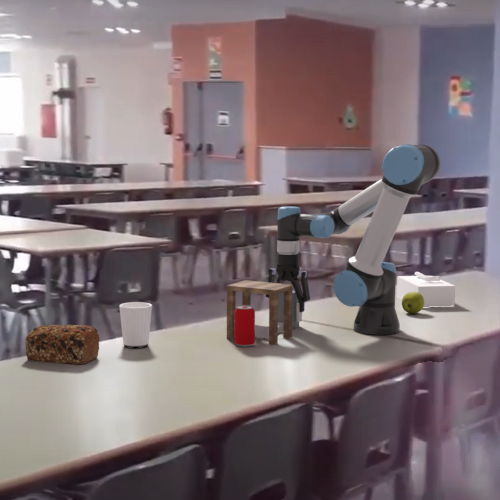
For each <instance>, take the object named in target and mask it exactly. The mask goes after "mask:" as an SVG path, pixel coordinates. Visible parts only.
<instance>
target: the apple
mask: <svg viewBox="0 0 500 500" xmlns="http://www.w3.org/2000/svg"><path fill="white" fill-rule="evenodd" d="M423 306H424V298H423V296H422V295H421V294H420V293H418V292H409V293H407V294H406V295H405V296H404V297H403V299H402V300H401V307H402V309H403V310H404V312H406V313H407V314H411V313H415V314H418V313H419V312H421V311H422V310H423V309H424V308H423Z"/></svg>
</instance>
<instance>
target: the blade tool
mask: <svg viewBox="0 0 500 500" xmlns="http://www.w3.org/2000/svg"><path fill="white" fill-rule="evenodd" d="M298 302H299V300H298V298H297V295H296V292H295V290H293V289H292V330H293V329H296V328H298V327H300V322H296V315H297V303H298ZM283 323H284V292H283V293H280V294H278V334H279V333H282V332H283ZM263 338H265V339H264V340H269V325H262V324H256V323H255V339H263Z"/></svg>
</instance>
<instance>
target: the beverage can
mask: <svg viewBox="0 0 500 500" xmlns="http://www.w3.org/2000/svg"><path fill="white" fill-rule="evenodd" d="M255 324H256V310H255V309H254V306H253V305H251V306H250V305H242V304H240V305H235V329H234V339H233V340H234V345H236V346H237V347H239V348H240V347H242V348H243V347H244V348H249V347H252V346H253V345H255V343H256V338H255Z"/></svg>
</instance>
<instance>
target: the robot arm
mask: <svg viewBox="0 0 500 500" xmlns="http://www.w3.org/2000/svg"><path fill="white" fill-rule="evenodd" d="M440 168H441V158H440V155H439V154H438V152H437V151H436V150H435V149H434V148H433V147H432V146H430V145H426V144H409V143H408V144H406V143H405V144H400V145H398V146H395V147H392V148H391V149H390V150H388V152H387V153H386V154H385V156H384V158H383V160H382V165H381V169H382V172H383V175H382V177H381V179H379V180H377V181H376V182H375V183H373V184H371V185H370V186H368V187H367V188H365V189H364V190H362V191H360V192H359V193H357V194H356V195H355V196H352V197H351V198H350V199H348V200H347V201H346V202H344V203H342V204H341V205H339V206H338V207H336V208H335V209H333V210H332V211H330V212H329V211H328V212H323V213H303V212H301V208H300V206H280V207H278V210H277V219H276V223H277V224H276V226H277V240H276V252H277V254H276V267H275V268H274V267H273V268H268V271H267V272H268V279H267V282H269V283H275V280H276V274H277V275H278V277H277V280H276V283H279V284H284V282H286V281H288V282H290V283H291V285H292V288H293V289H294V291H295V292H296V295H297V298H298V300H299V302H298V303H297V315H296V322H299V323H300V322H302V321H303V313H304V312H305V306H306V305H305V303H306V302H308V301H310V300H311V294H310V288H309V282H308V280H309V279H308V276H309V272H308V271H307V270H305V271H304V270H301V269H300V256H301V255H300V250H301V249H300V246H301V245H300V243H301V242H300V240H301V239H300V238H301V237H307V238H317V239H328V238H330V237H331V236H332V235H333V236H334V235H342V234H343V233H346V232H347V231H349V229H350V227H351V226H353V225H354V224H356V223H357V222H358V221H360V220H362V219H364V218H366V217H367V216H369V215H370V214H371V216H370V220H369V222H368V225H367V228H366V229H365V232H364V233H363V236H362V239H361V241H360V244H359V246H358V249H357V251H356V253H355V255H353V256H351V257H349V258H348V261H347V263H346V265H345V268H344V270H342V271H340V272H339V273H338V274H337V275H336V276H335V277H334V280H333V285H332V286H333V288H332V289H333V293H334V294H335V297H336V299H337V300H338V301H339V302H340V303H341V304H342V305H345V306H347V307H351V308H353V307H358V310H357V312H356V316H355V318H354V321H353V331H355V332H356V333H359V334H364V335H365V334H367V335H375V336H376V335H378V336H380V335H383V336H384V335H386V334H387V335H393V334H392V333H395V334H397V333H396V332H398V331H399V330H400V327H401V326H400V321H399V317H398V314H397V312H396V311H397V310H396V289H397V268H396V264H394V263H393V262H386V261H384V260H385V258H386V254H387V253H388V250H389V249H390V246H391V244H392V242H393V239H394V236H395V234H396V233H397V232H396V231H397V230H398V227H399V225H400V222H401V220H402V218H403V215H404V213H405V210H406V208H407V206H408V203H409V201H410V199H411V198H413V197H414V196H417V195H418V193H419V191H420V188H421V186H423V185H424V184H426V183H429V181H432V180H433V179H434V178H435V177H436V176H437V175H438V173H439V172H440ZM298 276H299V277H300V281H299V278H298ZM300 282H301V283H300ZM300 284H301V285H300ZM265 298H268V299H269V294H265ZM399 332H400V331H399ZM399 332H398V333H399ZM387 335H386V336H387Z"/></svg>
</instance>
